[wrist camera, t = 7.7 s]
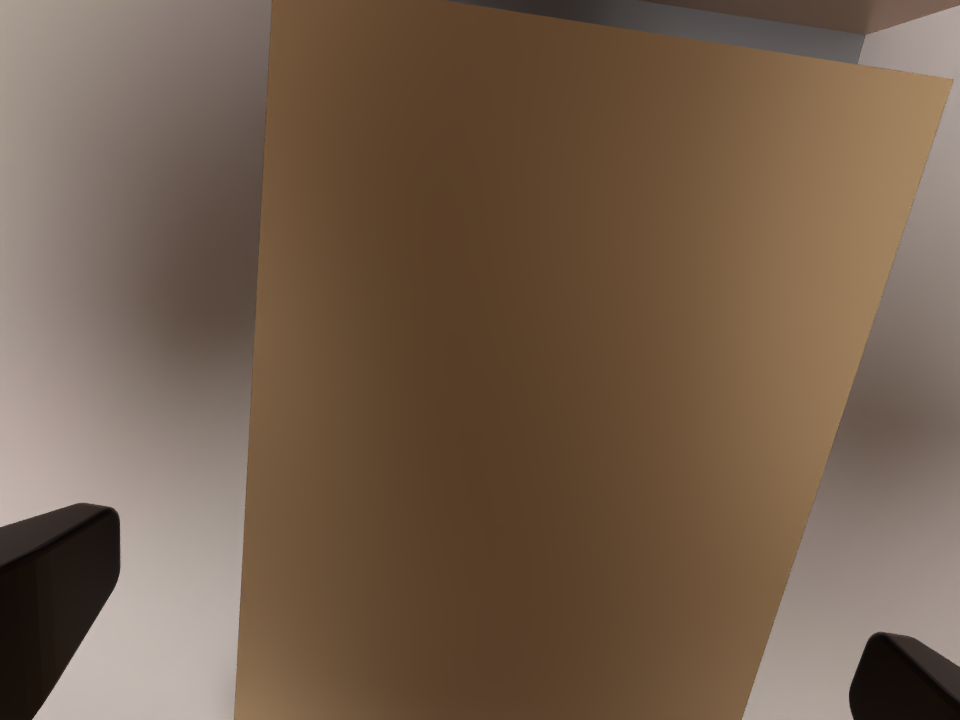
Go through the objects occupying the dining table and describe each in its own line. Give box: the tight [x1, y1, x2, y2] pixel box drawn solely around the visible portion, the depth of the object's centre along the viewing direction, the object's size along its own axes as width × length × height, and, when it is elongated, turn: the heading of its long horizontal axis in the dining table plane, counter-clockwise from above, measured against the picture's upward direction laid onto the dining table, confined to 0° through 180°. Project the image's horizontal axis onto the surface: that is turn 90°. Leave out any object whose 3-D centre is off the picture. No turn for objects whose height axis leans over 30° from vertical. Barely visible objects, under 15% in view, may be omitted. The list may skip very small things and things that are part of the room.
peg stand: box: [443, 0, 960, 64], centre depth 11 cm, size 9×17×5 cm, turn 172°
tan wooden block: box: [234, 0, 954, 720], centre depth 9 cm, size 5×12×4 cm, turn 172°
